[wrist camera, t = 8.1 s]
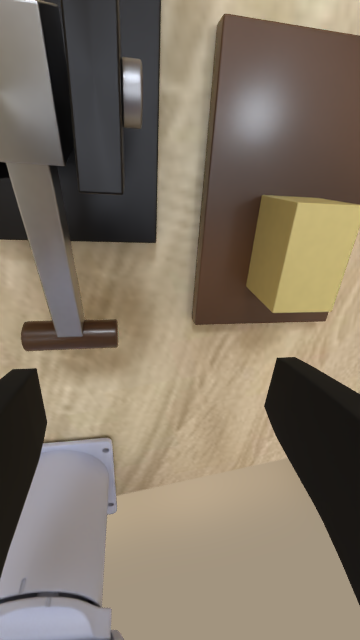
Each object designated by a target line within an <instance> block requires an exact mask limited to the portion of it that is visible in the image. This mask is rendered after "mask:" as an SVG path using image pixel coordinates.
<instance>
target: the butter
mask: <svg viewBox="0 0 360 640" xmlns="http://www.w3.org/2000/svg"><path fill="white" fill-rule="evenodd" d="M359 228H360V205H359V204H352V203H346V202H340V201H334V200H327V199H321V198H310V197H291V196H273V195H262V198H261V203H260V209H259V215H258V221H257V226H256V232H255V238H254V244H253V249H252V255H251V261H250V266H249V272H248V278H247V284H246V287H247V288H248V289H249V290H250V291H251V292H252V293H253V294H254V295H255V296H256V297H257V298H258V299H259V300H260V301H261V302H262V303H263V304H264V305H265V306H266V307H267V308H268V309H269V310H270V311H271V312H272V313H295V312H331V311H332V309H333V306H334V303H335V300H336V297H337V294H338V291H339V288H340V285H341V282H342V279H343V276H344V273H345V270H346V267H347V264H348V261H349V258H350V255H351V252H352V249H353V246H354V243H355V240H356V237H357V234H358V231H359Z"/></svg>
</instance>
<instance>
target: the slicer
mask: <svg viewBox="0 0 360 640" xmlns="http://www.w3.org/2000/svg"><path fill="white" fill-rule="evenodd" d="M41 1H45V2H50V3H54V4H57V5H58V7H59V11H60V19H61V27H62V34H63V42H64V50H65V57H66V65H67V75H68V85H69V96H70V106H71V117H72V127H73V138H74V145H73V147H72V150H71V152H70V155H69V158H68V160H67V163H66V165H65V166H57V169H58V174H59V180H60V185H61V191H62V196H63V202H64V207H65V213H66V218H67V224H68V229H69V235H70V240H71V241H90V242H136V243H156V221H157V171H158V121H159V71H160V21H161V0H41ZM0 240H28V237H27V234H26V230H25V227H24V224H23V220H22V217H21V213H20V210H19V207H18V203H17V200H16V197H15V193H14V190H13V187H12V183H11V180H10V177H9V173H8V170H7V166H6V163H5V162H0Z"/></svg>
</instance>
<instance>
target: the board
mask: <svg viewBox="0 0 360 640" xmlns="http://www.w3.org/2000/svg"><path fill="white" fill-rule="evenodd" d="M262 195H273V196H291V197H310V198H321V199H327V200H334V201H340V202H346V203H352V204H359V205H360V36H358V35H352V34H346V33H340V32H334V31H328V30H322V29H316V28H310V27H304V26H298V25H291V24H285V23H279V22H273V21H267V20H261V19H255V18H249V17H243V16H237V15H231V14H224V15H223V17H222V18H221V20H220V21H219V23H218V25H217V36H216V47H215V59H214V70H213V82H212V93H211V105H210V116H209V128H208V139H207V151H206V162H205V174H204V185H203V197H202V208H201V220H200V231H199V242H198V254H197V265H196V277H195V288H194V300H193V311H192V319H193V321H194V323H195V325H203V324H240V323H277V322H314V321H326V318H327V315H328V312H295V313H272V312H271V311H270V310H269V309H268V308H267V307H266V306H265V305H264V304H263V303H262V302H261V301H260V300H259V299H258V298H257V297H256V296H255V295H254V294H253V293H252V292H251V291H250V290H249V289H248V288H247V287H246V284H247V278H248V272H249V266H250V261H251V255H252V249H253V244H254V238H255V232H256V226H257V221H258V215H259V209H260V203H261V198H262Z"/></svg>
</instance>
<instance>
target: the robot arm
mask: <svg viewBox="0 0 360 640" xmlns="http://www.w3.org/2000/svg"><path fill="white" fill-rule="evenodd" d="M264 407H265V409H266V412H267V415H268V417H269V420H270V423H271V425H272V427H273V430H274V432H275V435H276V437H277V439H278V440H279V442H280V444H281V446H282V448H283V450H284V451H285V453H286V455H287V457H288V459H289V461H290V462H291V464H292V466H293V467H294V469H295V471H296V473H297V475H298V477H299V478H300V480H301V482H302V484H303V485H304V487H305V489H306V491H307V492H308V494H309V496H310V498H311V499H312V502H313V503H314V505H315V507H316V509H317V511H318V513H319V515H320V517H321V519H322V521H323V523H324V525H325V527H326V529H327V531H328V533H329V536H330V538H331V540H332V542H333V545H334V547H335V549H336V551H337V553H338V556H339V558H340V560H341V562H342V565H343V567H344V569H345V572H346V574H347V577H348V579H349V581H350V584H351V586H352V588H353V591H354V593H355V595H356V598H357V600H358V603H359V605H360V394H358V393H357V392H355V391H353V390H352V389H350V388H348V387H346V386H345V385H343V384H341V383H340V382H338V381H336V380H335V379H333V378H331V377H330V376H328V375H326V374H324V373H323V372H321V371H319V370H318V369H316V368H314V367H312V366H311V365H309V364H307V363H305V362H303V361H301V360H299V359H297V358H295V357H287V358H277V360H276V364H275V367H274V371H273V375H272V379H271V383H270V386H269V390H268V394H267V398H266V402H265V405H264ZM46 426H47V419H46V414H45V409H44V404H43V399H42V394H41V389H40V384H39V379H38V374H37V369H36V368H35V369H13V370H11V371H10V372H9V373H8V374H6V375H5V376H4V377H3V378H1V379H0V640H124V639H123V637H122V635H121V633H120V632H119V631H118V630H111V608H103V607H102V595H103V594H102V593H103V577H104V576H103V575H104V558H105V540H106V523H107V515H108V514H113V513H115V512H116V511H117V501H116V487H115V473H114V459H113V445H112V440H111V439H109V438H97V439H86V440H75V441H64V442H53V443H43V441H44V436H45V431H46ZM105 448H107V449H105Z"/></svg>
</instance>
